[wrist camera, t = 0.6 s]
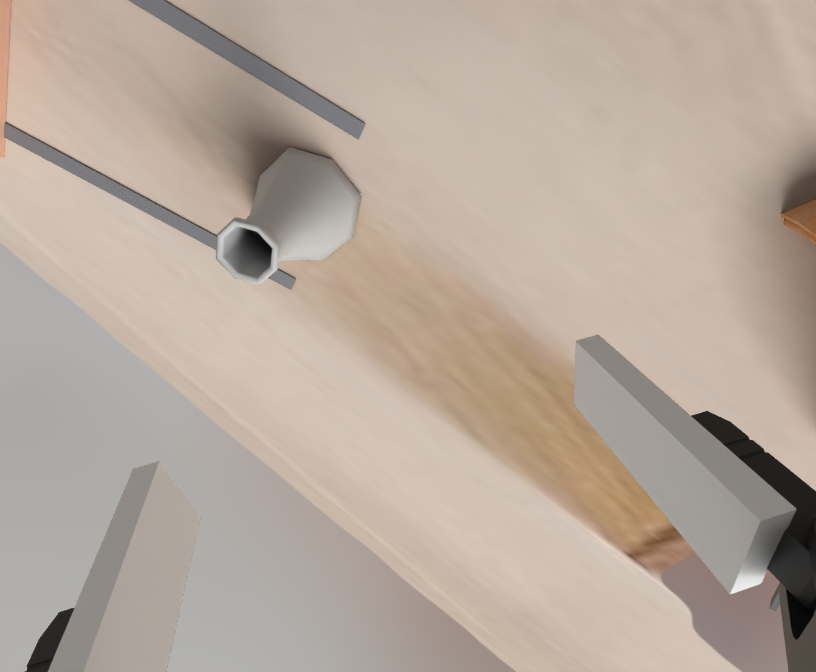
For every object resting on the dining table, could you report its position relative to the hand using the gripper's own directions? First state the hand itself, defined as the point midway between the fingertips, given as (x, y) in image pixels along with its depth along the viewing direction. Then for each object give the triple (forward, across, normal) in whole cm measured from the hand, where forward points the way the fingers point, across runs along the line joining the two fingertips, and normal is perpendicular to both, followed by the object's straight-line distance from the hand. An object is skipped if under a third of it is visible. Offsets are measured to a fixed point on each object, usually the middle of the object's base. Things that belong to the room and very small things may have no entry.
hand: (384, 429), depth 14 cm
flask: (+21, -1, +2) cm, 21 cm away
